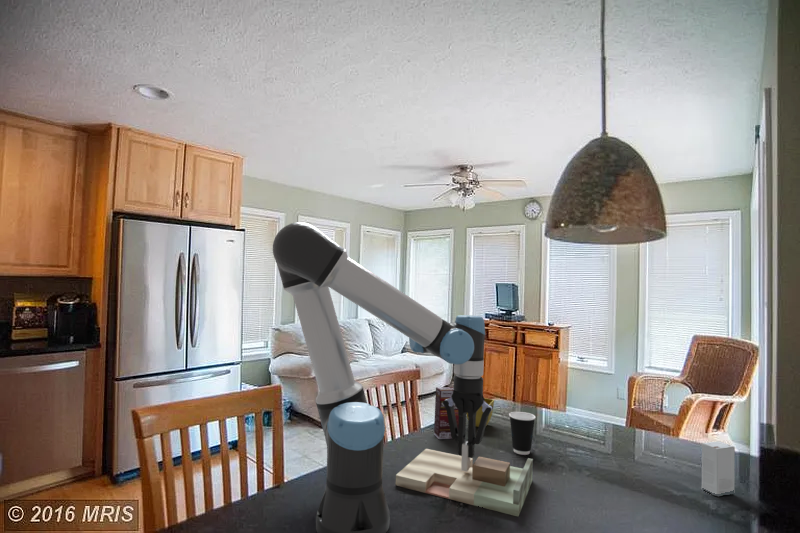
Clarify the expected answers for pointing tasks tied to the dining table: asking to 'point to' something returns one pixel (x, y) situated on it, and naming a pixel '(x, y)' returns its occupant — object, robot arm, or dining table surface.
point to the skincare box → (718, 467)
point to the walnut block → (491, 471)
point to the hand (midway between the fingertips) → (465, 469)
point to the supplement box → (443, 413)
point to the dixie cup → (522, 431)
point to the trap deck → (465, 482)
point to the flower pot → (480, 412)
